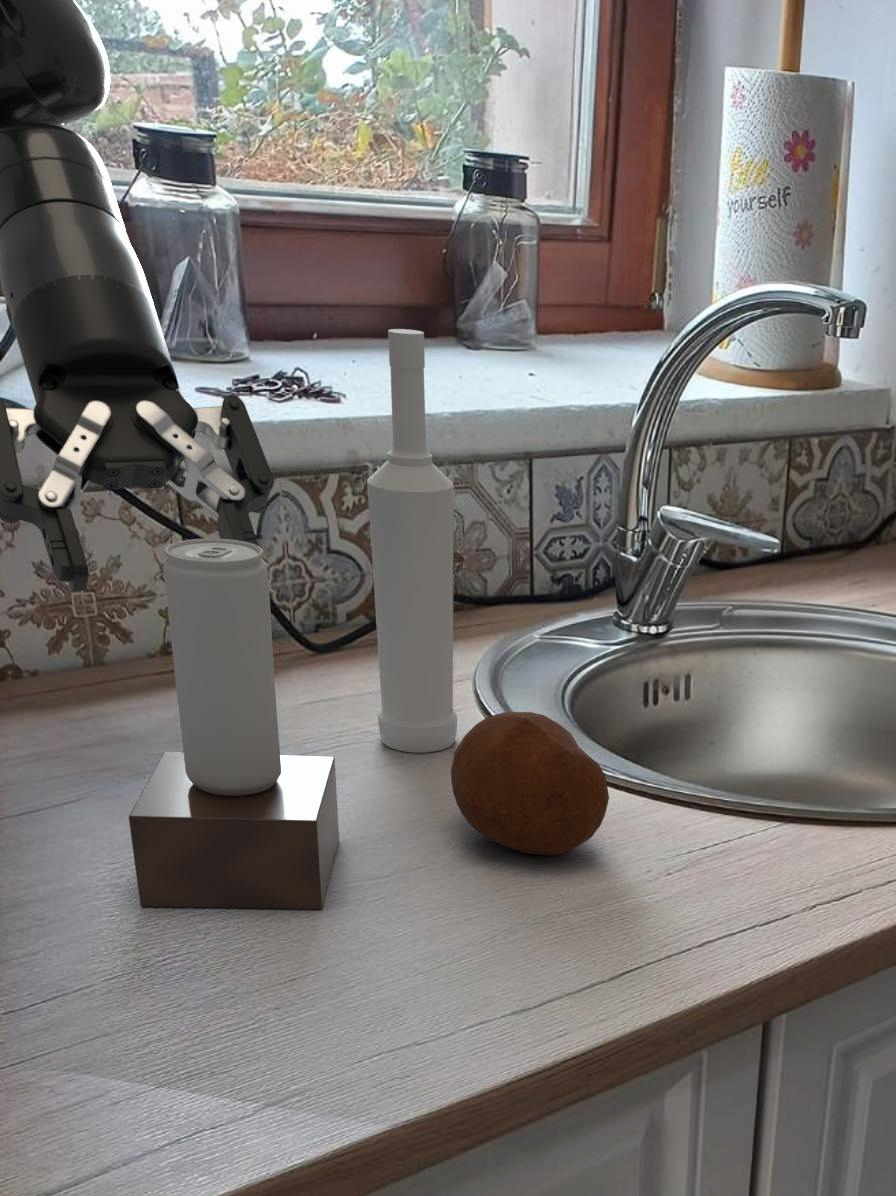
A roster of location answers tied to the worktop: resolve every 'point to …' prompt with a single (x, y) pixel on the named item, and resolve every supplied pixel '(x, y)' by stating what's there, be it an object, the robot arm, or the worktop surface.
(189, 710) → the beverage can
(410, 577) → the bottle
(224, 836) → the metal block
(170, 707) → the worktop surface
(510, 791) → the potato
